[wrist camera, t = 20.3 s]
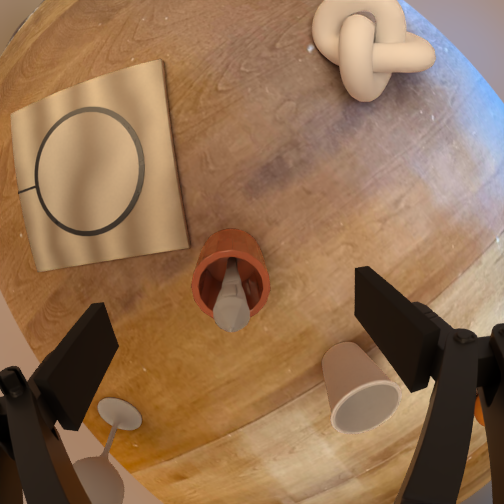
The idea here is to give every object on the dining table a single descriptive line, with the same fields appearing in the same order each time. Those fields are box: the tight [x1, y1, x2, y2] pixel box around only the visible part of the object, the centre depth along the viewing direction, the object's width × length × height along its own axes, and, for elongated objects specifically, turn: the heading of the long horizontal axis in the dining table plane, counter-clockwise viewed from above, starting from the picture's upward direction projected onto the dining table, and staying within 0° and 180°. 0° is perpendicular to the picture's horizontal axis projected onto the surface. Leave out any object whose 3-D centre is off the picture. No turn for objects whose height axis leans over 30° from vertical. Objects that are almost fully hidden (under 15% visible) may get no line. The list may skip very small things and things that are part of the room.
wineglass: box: [73, 397, 142, 504], centre depth 29 cm, size 8×8×21 cm
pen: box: [213, 257, 250, 332], centre depth 25 cm, size 2×3×14 cm
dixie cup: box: [322, 342, 402, 434], centre depth 33 cm, size 8×8×10 cm
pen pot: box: [191, 229, 270, 318], centre depth 29 cm, size 6×6×8 cm
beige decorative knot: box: [312, 0, 436, 102], centre depth 23 cm, size 11×12×9 cm
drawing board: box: [11, 59, 190, 272], centre depth 29 cm, size 20×20×1 cm
